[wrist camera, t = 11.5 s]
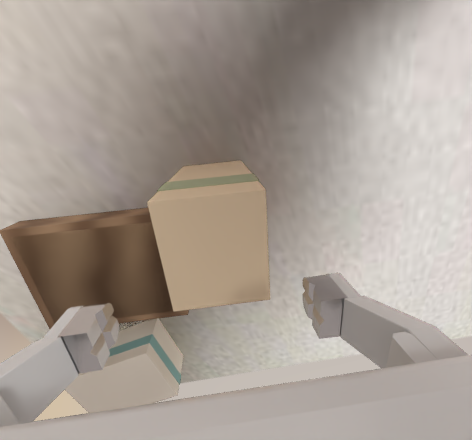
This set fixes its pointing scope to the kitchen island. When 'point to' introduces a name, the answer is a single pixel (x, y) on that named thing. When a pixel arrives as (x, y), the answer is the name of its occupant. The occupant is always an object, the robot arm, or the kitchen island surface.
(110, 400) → the wide carton
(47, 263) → the brown wooden tray
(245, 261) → the slim carton
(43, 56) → the kitchen island surface
